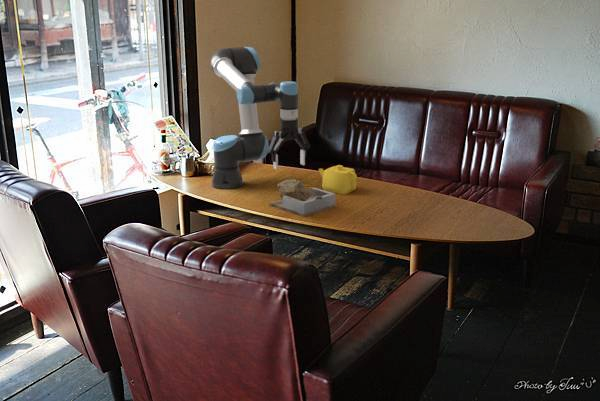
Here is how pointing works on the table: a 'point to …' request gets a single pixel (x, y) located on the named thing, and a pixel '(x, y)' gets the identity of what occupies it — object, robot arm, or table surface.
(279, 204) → the cradle board
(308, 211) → the cradle rails
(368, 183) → the table surface
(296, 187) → the rock
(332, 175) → the teapot
